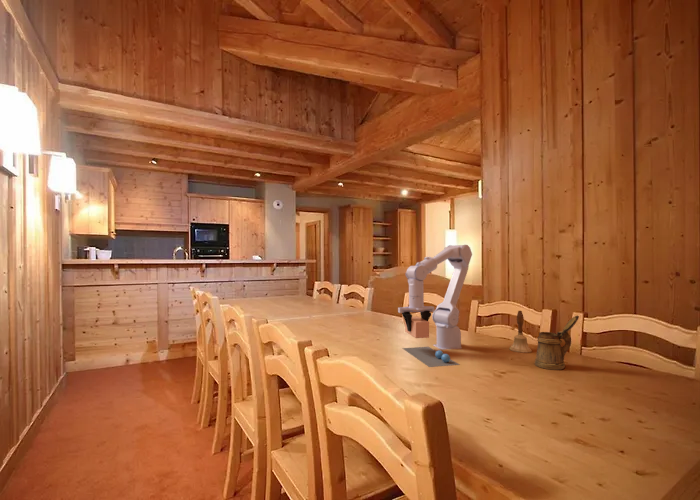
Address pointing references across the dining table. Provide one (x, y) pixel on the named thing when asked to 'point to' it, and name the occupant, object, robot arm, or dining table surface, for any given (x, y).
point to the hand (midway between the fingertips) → (416, 330)
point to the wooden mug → (553, 347)
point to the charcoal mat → (428, 356)
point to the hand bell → (520, 337)
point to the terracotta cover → (418, 328)
